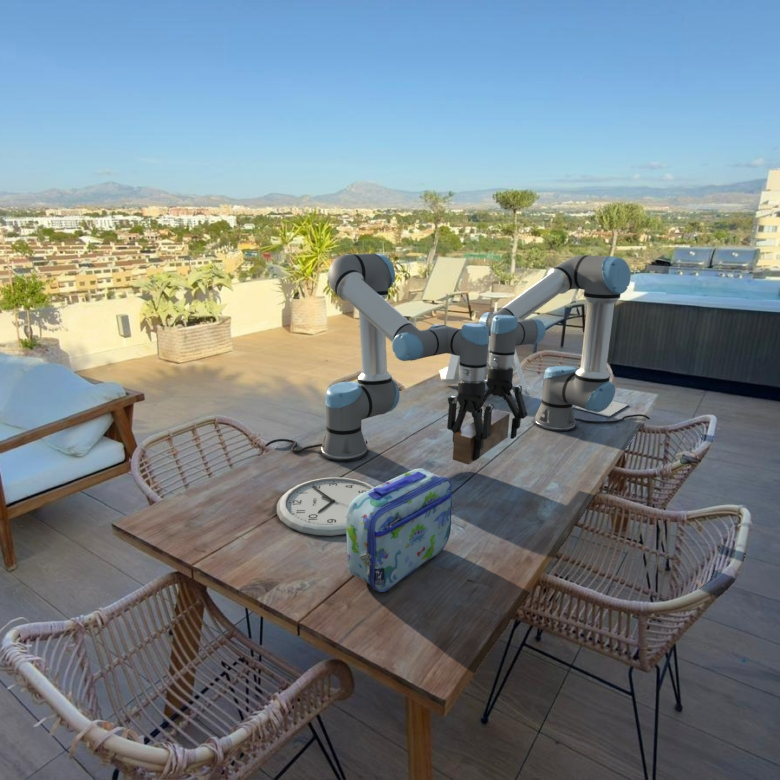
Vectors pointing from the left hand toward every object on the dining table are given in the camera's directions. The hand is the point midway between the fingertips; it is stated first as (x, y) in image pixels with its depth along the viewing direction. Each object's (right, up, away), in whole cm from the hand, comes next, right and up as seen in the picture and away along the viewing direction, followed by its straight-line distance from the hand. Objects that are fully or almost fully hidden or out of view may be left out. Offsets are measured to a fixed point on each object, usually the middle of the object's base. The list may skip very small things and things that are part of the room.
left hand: (466, 456), depth 152 cm
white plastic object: (+19, +18, +91) cm, 95 cm away
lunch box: (-20, -20, -34) cm, 45 cm away
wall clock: (-38, -12, -9) cm, 41 cm away
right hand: (+11, +6, +14) cm, 19 cm away
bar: (+6, +2, +7) cm, 9 cm away
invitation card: (+69, +12, +74) cm, 102 cm away
